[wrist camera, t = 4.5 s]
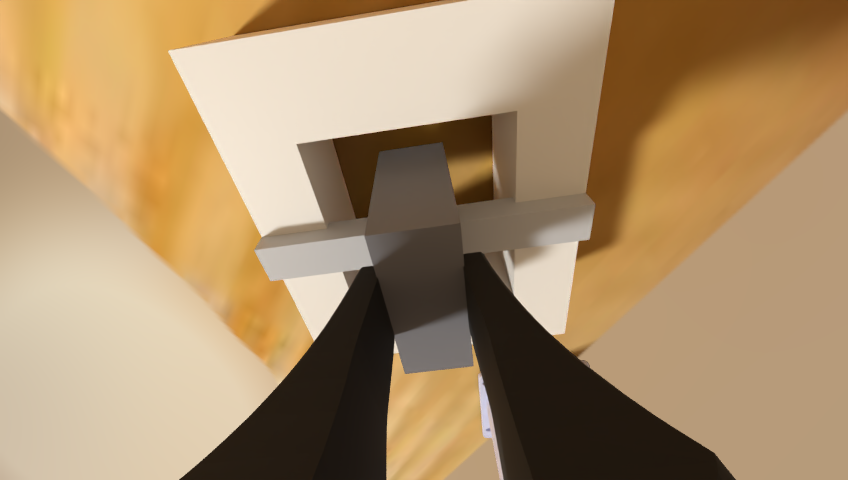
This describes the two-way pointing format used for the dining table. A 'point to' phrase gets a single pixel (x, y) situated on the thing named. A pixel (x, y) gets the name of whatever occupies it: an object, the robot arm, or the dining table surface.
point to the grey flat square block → (420, 257)
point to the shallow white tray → (406, 107)
